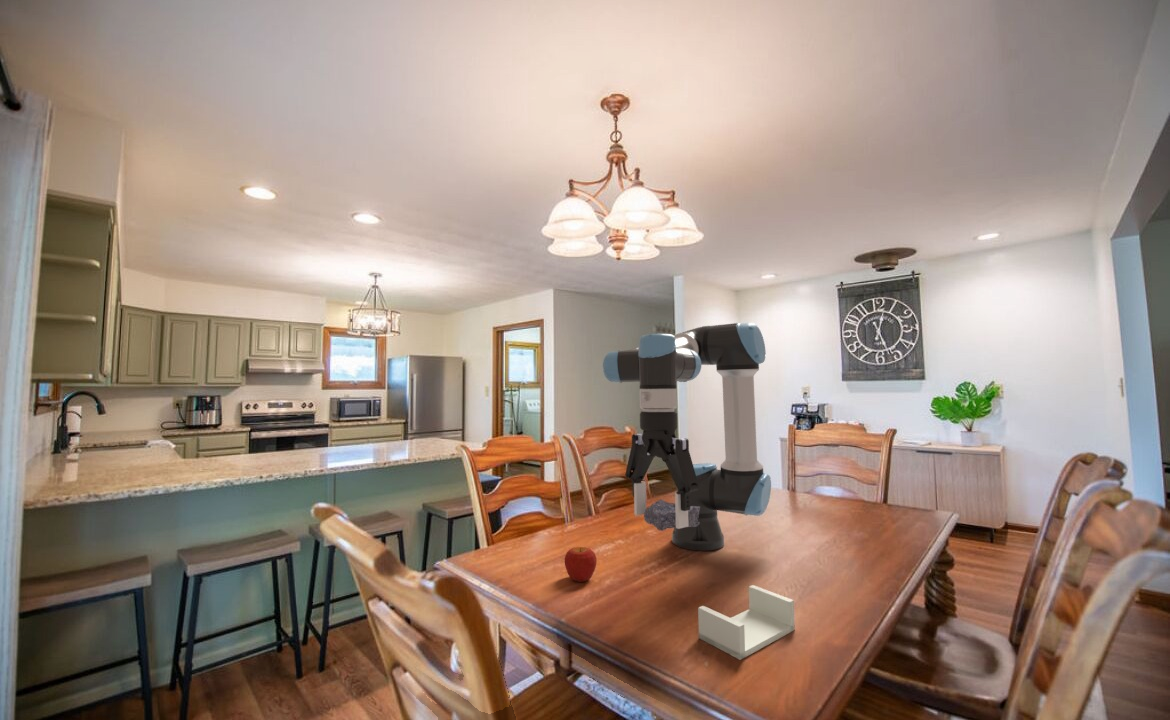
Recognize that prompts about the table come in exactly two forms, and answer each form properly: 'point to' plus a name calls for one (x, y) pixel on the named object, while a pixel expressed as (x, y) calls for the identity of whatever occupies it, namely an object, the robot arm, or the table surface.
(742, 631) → the u rest
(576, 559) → the apple
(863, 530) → the table surface
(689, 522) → the rock
